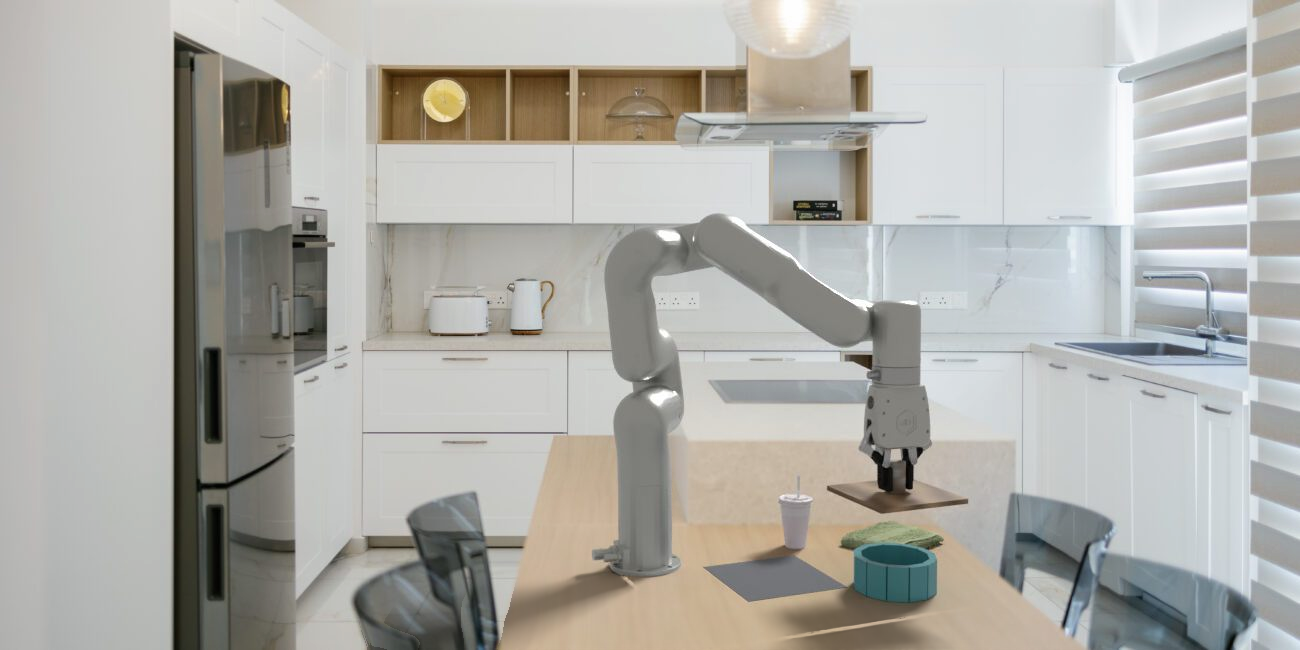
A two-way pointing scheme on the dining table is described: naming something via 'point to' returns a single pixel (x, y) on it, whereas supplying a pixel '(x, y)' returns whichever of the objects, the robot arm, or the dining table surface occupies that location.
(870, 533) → the washcloth
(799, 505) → the smoothie
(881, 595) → the bowl
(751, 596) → the mat
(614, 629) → the dining table surface
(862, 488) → the cover
